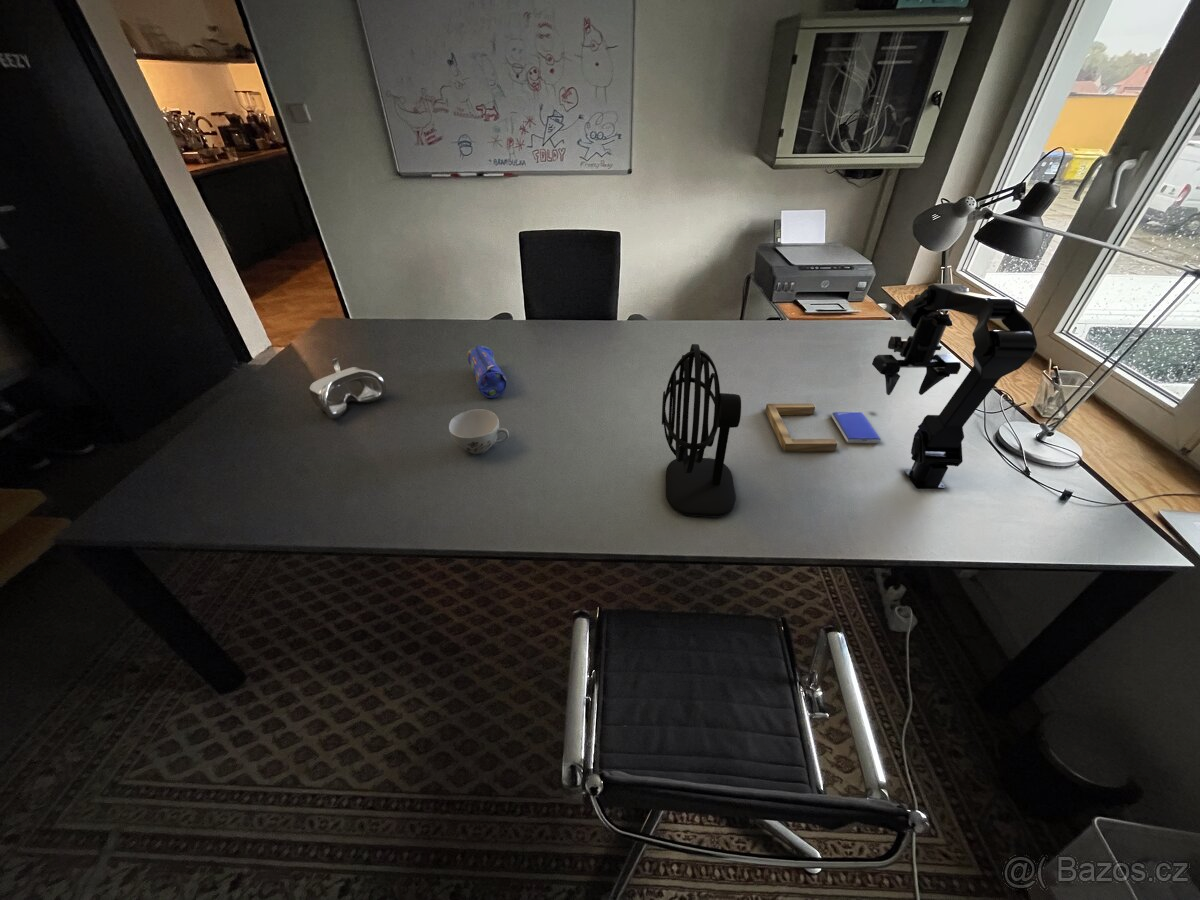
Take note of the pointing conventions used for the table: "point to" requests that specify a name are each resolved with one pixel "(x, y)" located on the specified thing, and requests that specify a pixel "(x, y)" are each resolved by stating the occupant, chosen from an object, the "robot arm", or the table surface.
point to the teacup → (476, 430)
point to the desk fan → (692, 477)
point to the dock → (783, 435)
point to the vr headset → (346, 389)
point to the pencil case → (486, 372)
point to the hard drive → (855, 427)
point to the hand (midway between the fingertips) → (904, 394)
